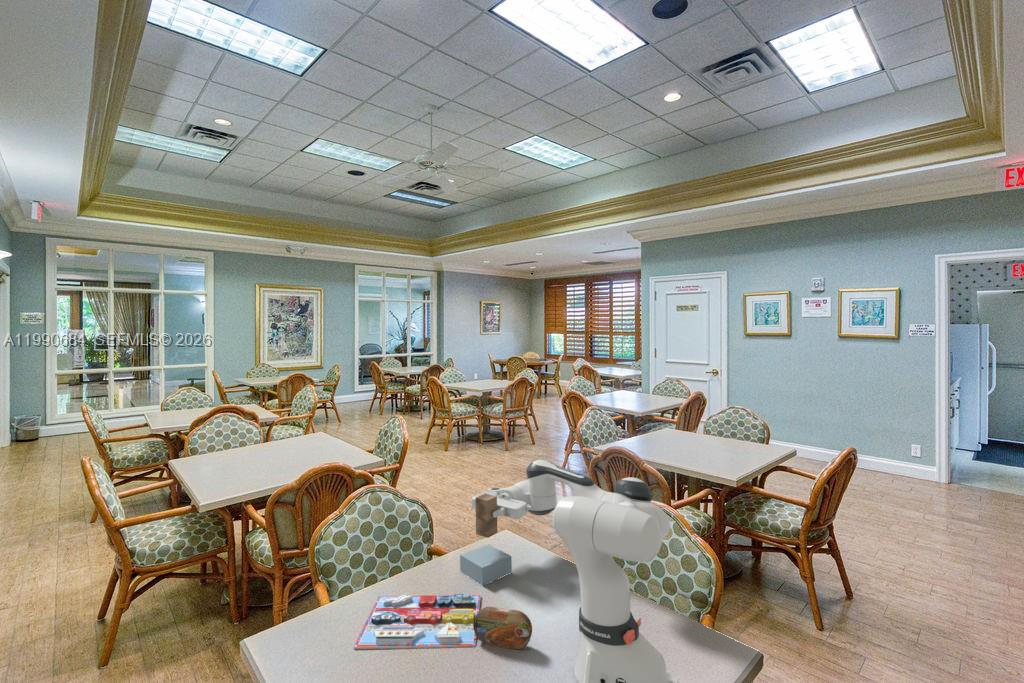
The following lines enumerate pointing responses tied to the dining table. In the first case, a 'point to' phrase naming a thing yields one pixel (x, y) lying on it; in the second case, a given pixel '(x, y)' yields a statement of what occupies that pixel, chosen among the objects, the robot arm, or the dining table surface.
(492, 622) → the tin
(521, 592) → the dining table surface
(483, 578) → the grey box
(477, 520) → the walnut block
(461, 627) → the puzzle board
